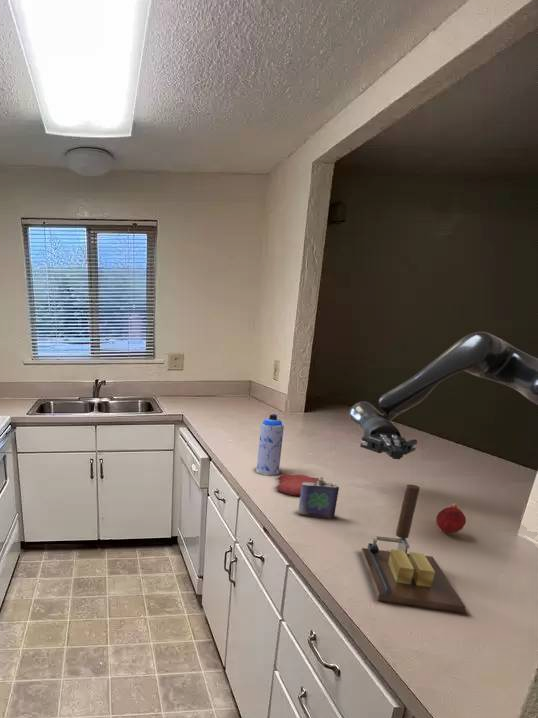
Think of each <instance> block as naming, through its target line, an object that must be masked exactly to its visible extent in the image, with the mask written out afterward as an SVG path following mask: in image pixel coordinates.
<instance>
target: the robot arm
mask: <svg viewBox="0 0 538 718" xmlns="http://www.w3.org/2000/svg"><path fill="white" fill-rule="evenodd" d="M462 372H465V373H468V374H470V375H472V376H474V377H478V378H482V379H486V380H489V381H492V382H495V383H498V384H501V385H503V386H504V385H505V386H507V387H509V388H511V389H513V390H514V391H517V392H518V393H519V394H521V395H522V396H523V397H525V398H526V399H527V400H529V401H530V402H531V403H533V404H535V405H536V406H538V358H537V357H535V356H533V355H531V354H528V353H526V352H524V351H522V350H520V349H518V348H517V347H516V346H513V345H512V344H510V343H509V342H507V341H505V340H504V339H502V338H500V337H498V336H496V335H494V334H491V333H489V332H487V331H474V332H471V333H469V334H467V335H465V336H463V337H462V338H460V339H459V340H457V341H456V342H455V343H453V344H452V345H451V346H449V348H447V349H446V350H445V351H443V352H442V353H441V354H440V355H438V356H437V357H436V358H435V359H434V360H432V361H431V362H430V363H429V364H427V365H426V366H425V367H424V368H422V369H421V370H420V371H419V372H417V373H416V374H415V375H413V376H412V377H410V378H408V379H407V380H406V381H404V382H402V383H401V384H399V385H397V386H396V387H394V388H392V389H391V390H389V391H387V392H386V393H383V394H382V395H381V396H380V397H379V399H378V405H379V408H380V409H381V412H382V413H381V412H380V411H379V410H378V409H377V408H376V407H375V406H374V405H373V404H372V403H371V402H369V401H366V400H362V401H358V402H356V403H354V404H353V405H352V406H351V408H350V409H349V411H348V419H349V420H350V421H351V422H352V423H353V424H354V426H356V427H357V428H358V430H360V432H361V434H362V436H361V441H360V445H359V447H360V448H363V449H365V450H368V451H370V452H371V451H372V452H374V453H377V454H385V455H388V457H390V458H392V460H401V459H402V458H403V457H404V456H405V455H408V454H410V453H412V452H414V451H416V448H417V444H418V440H417V439H410V440H406V438H405V437H402V435H401V432H400V430H399V429H398V428H397V426H395V424H393V422H391V421H392V420H395V418H396V417H397V416H399V415H400V414H403V413H404V412H406V411H408V410H410V409H412V408H414V407H416V406H417V405H419V404H420V403H422V402H423V401H424V400H425V399H426V398H427V397H428V396H429V395H430V394H431V392H432V391H433V390H434V389H435V387H437V386H438V385H439V384H440V383H441V382H443V381H445V380H446V379H448V378H450V377H451V376H454V375H456V374H459V373H462Z"/></svg>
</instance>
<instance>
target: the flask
mask: <svg viewBox="0 0 538 718" xmlns="http://www.w3.org/2000/svg"><path fill="white" fill-rule="evenodd" d="M339 491H340V487H339V486H338V485H337V484H335V483H332V482H326V481H325V480H324V477H323V476H320V477H318V481H317V483H303V484H302V489H301V496H299V502H298V503H299V504H298V511H297V513H298V515H302V516H304V517H307V516H309V517H317V518H318V517H320V518H328V519H333V518H335V514H336V509H337V501H338V495H339Z"/></svg>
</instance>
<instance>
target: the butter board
mask: <svg viewBox="0 0 538 718" xmlns="http://www.w3.org/2000/svg"><path fill="white" fill-rule="evenodd" d="M360 555H361V557H362V560H363V563H364V566H365V568H366V571H367V575H368V577H369V579H370V582H371V586H372V588H373V590H374V594H375V596H376V599H377V601H381V602H386V603H387V602H388V603H393V604H400V605H406V606H414V607H420V608H426V609H433V610H440V611H446V612H453V613H459V614H464V612H465V609H466V605H465V604H464V603H463V601H462V599H461V598H460V596H459V595H458V593H457V592H456V590H455V588H454V587H453V585H452V584H451V583H450V581H449V579H448V578H447V577H446V575H445V573H444V572H443V570H442V569H441V567H440V566H439V564H438V562H437V561H436V560H435V558H434V557H433V556H431V555H425V554H424V553H421V552H413V551H409V553H407V554H406V553H405V551H397V549H390V551H389V550H382V549H379V552H378V553H372V552H370V551H369V548H368V547H367V548H366V547H362V548H361V551H360Z"/></svg>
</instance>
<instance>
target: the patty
mask: <svg viewBox="0 0 538 718" xmlns="http://www.w3.org/2000/svg"><path fill="white" fill-rule="evenodd" d="M318 479H319V477H314V476H309V475H305V474H291V473H283V474H279V475H278V480H279V481H278V483H279V484H277V486H276V489H277V491H278V492H280V493H282V494H285V495H288V496H295V497H300V496H301V489H302V484H303V483H317V481H318Z"/></svg>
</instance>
